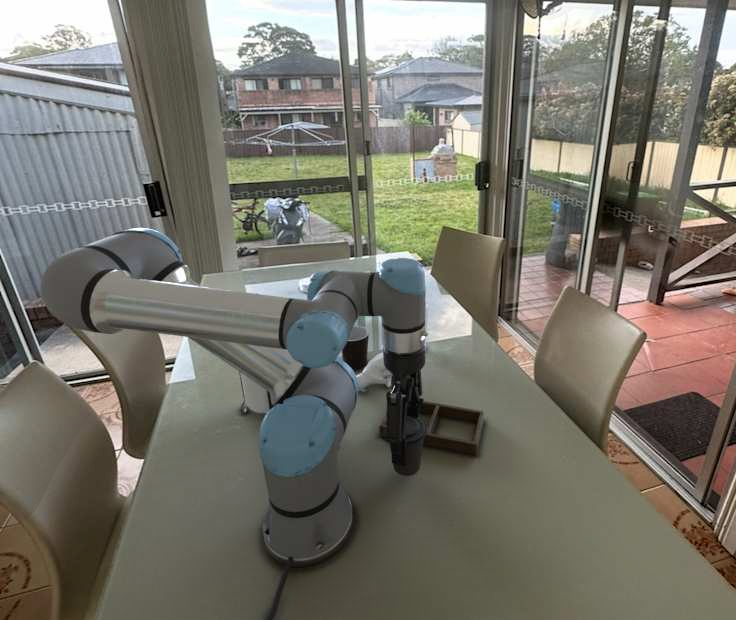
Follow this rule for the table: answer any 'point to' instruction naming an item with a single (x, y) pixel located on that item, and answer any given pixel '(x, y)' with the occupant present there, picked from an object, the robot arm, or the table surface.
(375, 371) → the white lumpy figurine
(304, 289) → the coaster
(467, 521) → the table surface
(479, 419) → the frame
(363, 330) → the coffee mug
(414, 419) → the coffee cup
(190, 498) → the table surface
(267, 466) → the robot arm
